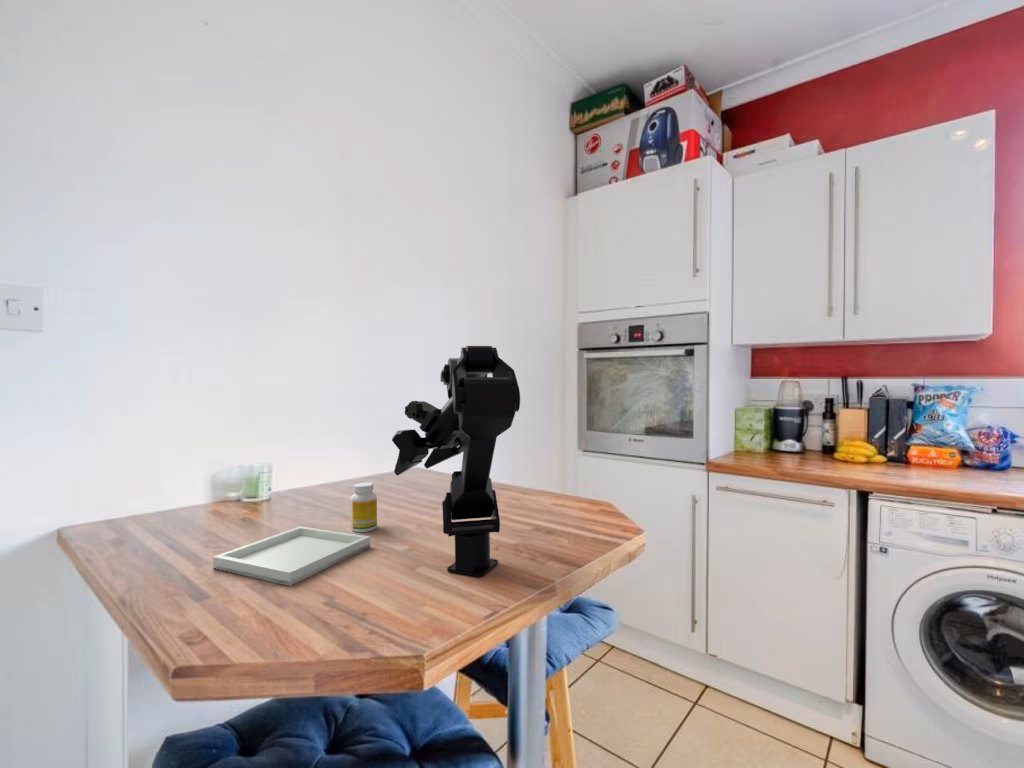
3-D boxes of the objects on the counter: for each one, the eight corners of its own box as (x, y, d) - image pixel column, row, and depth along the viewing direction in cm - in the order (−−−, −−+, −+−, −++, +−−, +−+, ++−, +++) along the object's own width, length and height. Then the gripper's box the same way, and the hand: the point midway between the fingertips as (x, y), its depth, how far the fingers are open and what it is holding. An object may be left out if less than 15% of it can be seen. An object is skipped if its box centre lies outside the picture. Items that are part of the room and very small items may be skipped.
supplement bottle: (347, 528, 98) (346, 484, 98) (371, 523, 101) (370, 480, 101) (356, 534, 94) (355, 488, 94) (381, 529, 97) (380, 484, 97)
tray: (289, 585, 70) (289, 572, 70) (213, 568, 77) (213, 556, 77) (370, 547, 86) (370, 536, 86) (300, 535, 93) (300, 526, 93)
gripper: (457, 387, 99) (418, 437, 103) (399, 386, 82) (355, 446, 87) (489, 424, 95) (447, 474, 99) (435, 430, 78) (387, 490, 83)
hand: (411, 470), depth 92 cm, fingers open, 9 cm apart
